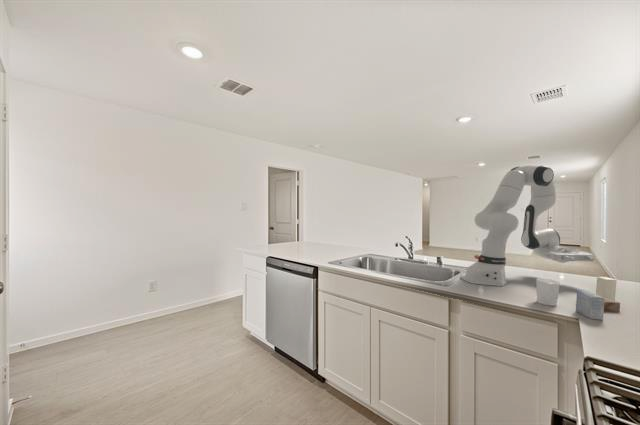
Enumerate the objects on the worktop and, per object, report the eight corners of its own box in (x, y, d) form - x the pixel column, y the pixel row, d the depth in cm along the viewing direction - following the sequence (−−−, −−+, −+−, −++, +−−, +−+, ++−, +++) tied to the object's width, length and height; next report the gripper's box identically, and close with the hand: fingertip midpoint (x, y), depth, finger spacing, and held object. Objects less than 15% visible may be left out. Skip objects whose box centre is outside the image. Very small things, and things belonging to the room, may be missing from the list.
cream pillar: (604, 300, 125) (606, 279, 124) (595, 297, 129) (597, 276, 129) (614, 301, 125) (616, 279, 124) (605, 297, 129) (606, 277, 128)
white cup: (533, 302, 120) (534, 280, 120) (537, 298, 125) (538, 277, 125) (556, 308, 114) (557, 284, 114) (560, 304, 119) (561, 281, 119)
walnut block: (597, 311, 113) (597, 301, 113) (577, 303, 122) (577, 294, 122) (619, 312, 113) (620, 302, 112) (597, 303, 122) (598, 295, 121)
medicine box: (603, 320, 103) (605, 298, 103) (589, 319, 104) (591, 296, 104) (587, 312, 111) (589, 291, 111) (575, 310, 112) (576, 290, 112)
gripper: (541, 248, 152) (563, 253, 138) (579, 249, 151) (604, 254, 138) (541, 259, 152) (562, 265, 139) (578, 260, 152) (603, 266, 138)
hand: (583, 259), depth 138 cm, fingers open, 8 cm apart
